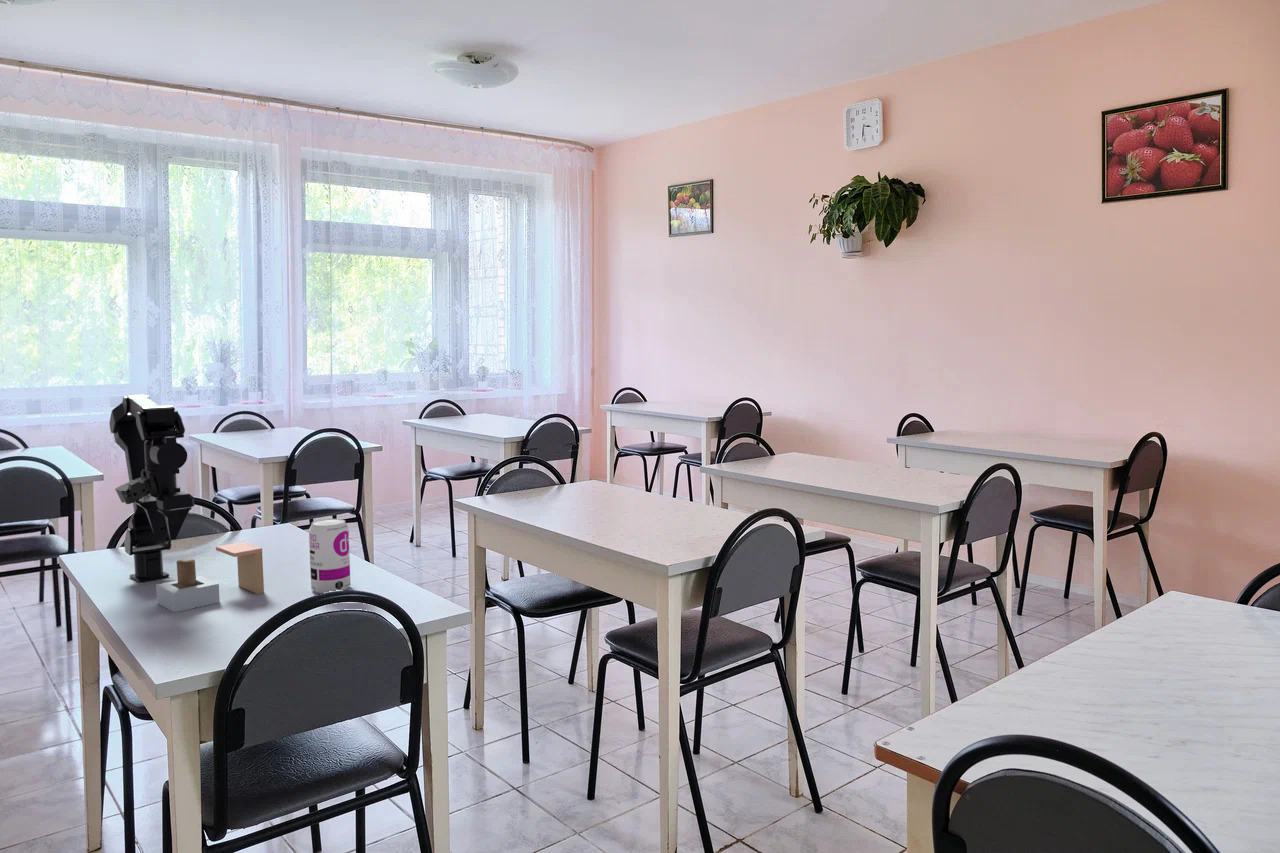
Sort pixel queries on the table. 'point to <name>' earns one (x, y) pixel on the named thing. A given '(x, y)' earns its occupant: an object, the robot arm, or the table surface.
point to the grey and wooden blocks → (209, 590)
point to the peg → (186, 573)
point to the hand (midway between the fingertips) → (164, 536)
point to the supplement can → (329, 555)
